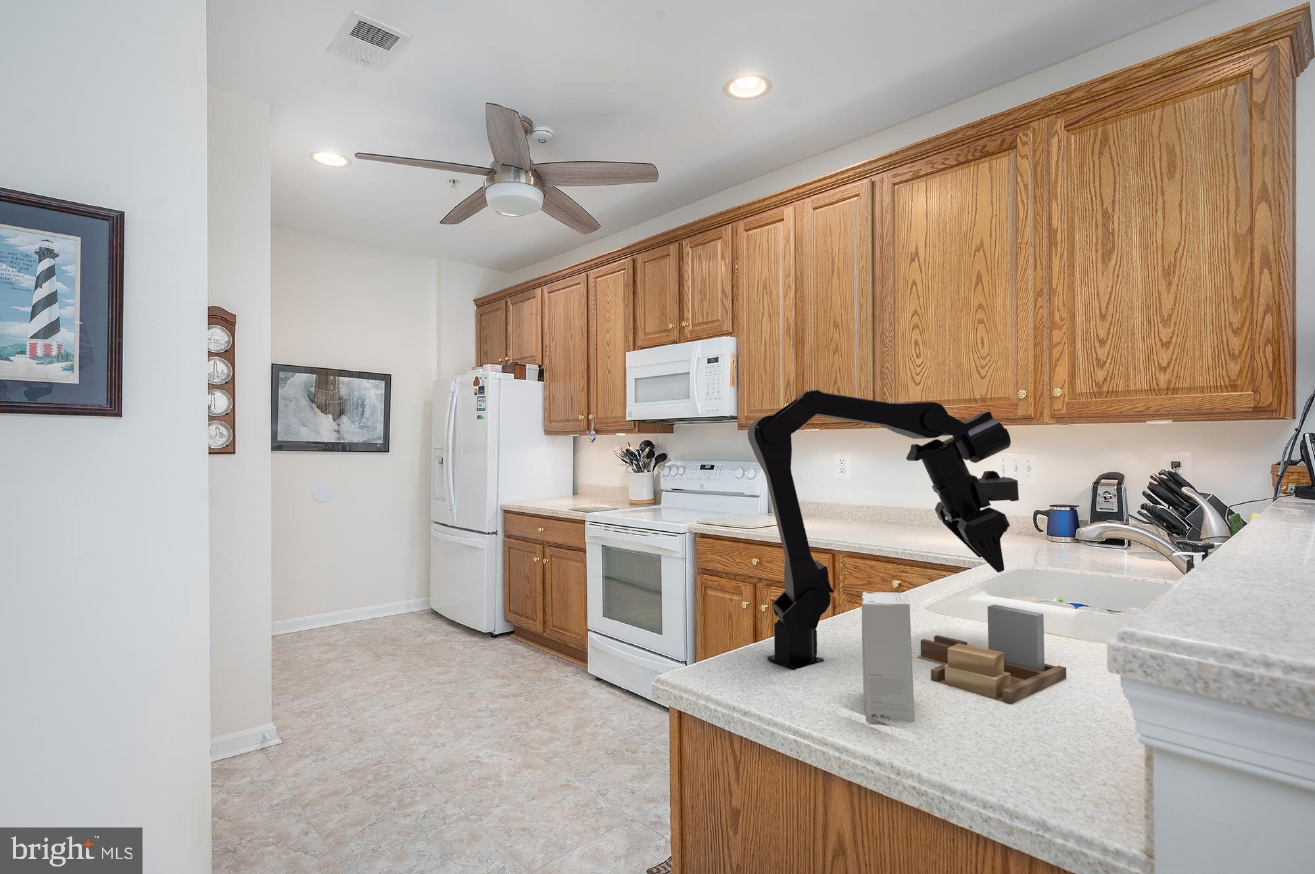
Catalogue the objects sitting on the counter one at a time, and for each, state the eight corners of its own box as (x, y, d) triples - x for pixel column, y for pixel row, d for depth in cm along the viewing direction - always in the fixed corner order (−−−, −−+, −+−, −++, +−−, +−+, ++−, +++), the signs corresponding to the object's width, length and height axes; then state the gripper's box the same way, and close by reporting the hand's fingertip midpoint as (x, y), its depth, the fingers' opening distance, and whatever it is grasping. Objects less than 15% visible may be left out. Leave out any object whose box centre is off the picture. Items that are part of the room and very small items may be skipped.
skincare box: (915, 730, 78) (913, 605, 78) (862, 723, 79) (861, 601, 80) (910, 704, 86) (909, 590, 86) (862, 698, 87) (861, 588, 88)
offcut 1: (994, 677, 85) (993, 658, 85) (947, 666, 90) (947, 648, 90) (1003, 670, 88) (1003, 652, 88) (958, 660, 92) (958, 643, 92)
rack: (1010, 711, 83) (1010, 691, 83) (931, 686, 92) (930, 668, 92) (1066, 685, 92) (1066, 667, 92) (989, 664, 101) (988, 648, 101)
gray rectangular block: (1038, 679, 91) (1036, 615, 92) (988, 666, 97) (987, 606, 97) (1044, 676, 93) (1043, 613, 93) (995, 664, 98) (994, 604, 99)
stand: (946, 672, 98) (946, 648, 98) (916, 663, 102) (916, 641, 102) (971, 663, 102) (971, 640, 102) (941, 655, 106) (941, 633, 106)
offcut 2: (995, 698, 85) (995, 679, 85) (945, 683, 90) (944, 665, 90) (1010, 691, 87) (1010, 673, 87) (960, 677, 93) (960, 659, 93)
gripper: (1021, 460, 94) (1067, 559, 93) (980, 449, 112) (1019, 531, 112) (946, 491, 96) (991, 587, 96) (918, 475, 114) (956, 556, 114)
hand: (991, 563), depth 104 cm, fingers open, 9 cm apart
